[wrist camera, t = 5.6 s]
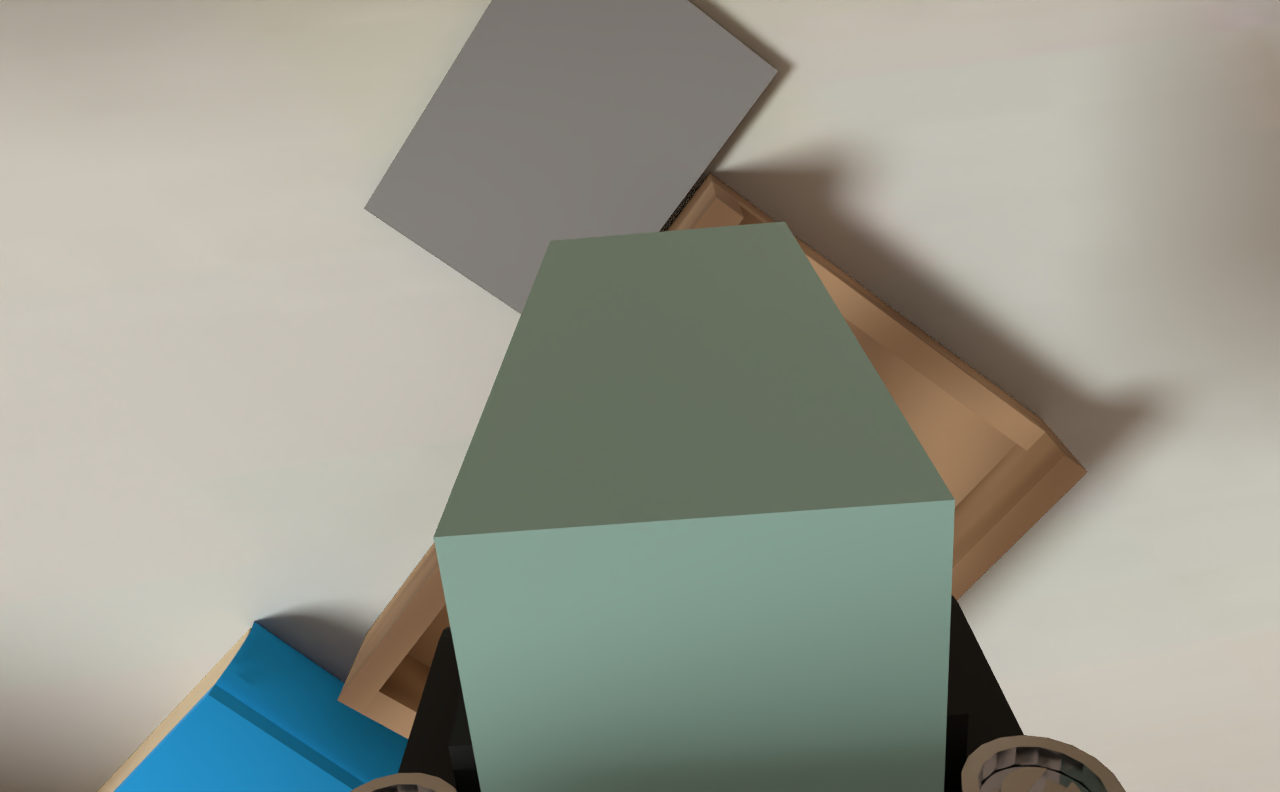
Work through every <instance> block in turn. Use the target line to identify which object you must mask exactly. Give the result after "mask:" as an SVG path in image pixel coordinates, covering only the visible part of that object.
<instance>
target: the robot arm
mask: <svg viewBox="0 0 1280 792" xmlns="http://www.w3.org/2000/svg"><path fill="white" fill-rule="evenodd" d="M350 792H481V789H480V783H479V778H478V773H477V767H476V762H475V757H474V751H473V746H472V741H471V735H470V730H469V724H468V719H467V714H466V708H465V703H464V698H463V692H462V687H461V682H460V676H459V671H458V665H457V660H456V655H455V649H454V644H453V639H452V633H451V628H450V627H446V628H445V629H444V630H443V631H442V634H441V636H440V638H439V641H438V645H437V648H436V651H435V654H434V658H433V661H432V664H431V667H430V671H429V674H428V677H427V680H426V684H425V687H424V690H423V693H422V697H421V700H420V703H419V706H418V709H417V713H416V716H415V719H414V722H413V726H412V729H411V732H410V735H409V739H408V742H407V745H406V748H405V752H404V755H403V758H402V761H401V765H400V768H399V771H398V773H397V774H393V775H389V776H385V777H381V778H376V779H374V780H372V781H370V782H368V783H365V784H363V785H361V786H359V787H357V788H355V789H353V790H352V791H350ZM944 792H1126V791H1125V790H1124V788H1123V787H1122V785H1121V784H1120V782H1119V781H1118V779H1117V778H1116V776H1115V775H1114V774H1113V773H1112V772H1111V771H1110V770H1109V769H1108V768H1107V767H1105V766H1104V765H1103V764H1102V763H1101V762H1100V761H1098V760H1097V759H1096V758H1095V757H1093V756H1091V755H1089V754H1087V753H1086V752H1084V751H1082V750H1080V749H1078V748H1076V747H1074V746H1073V745H1069V744H1066V743H1063V742H1060V741H1057V740H1053V739H1050V738H1045V737H1036V736H1027V735H1024V734H1023V732H1022V730H1021V728H1020V726H1019V724H1018V722H1017V720H1016V718H1015V716H1014V714H1013V712H1012V710H1011V708H1010V706H1009V704H1008V702H1007V700H1006V698H1005V696H1004V694H1003V692H1002V690H1001V688H1000V686H999V684H998V682H997V680H996V678H995V676H994V674H993V672H992V670H991V668H990V666H989V664H988V662H987V660H986V658H985V656H984V654H983V652H982V650H981V648H980V646H979V644H978V642H977V640H976V638H975V636H974V634H973V632H972V630H971V628H970V626H969V624H968V622H967V620H966V618H965V616H964V614H963V612H962V610H961V608H960V606H959V604H958V602H957V601H956V599H955V598H954V596H953V595H951V619H950V645H949V672H948V698H947V725H946V751H945V777H944Z"/></svg>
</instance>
